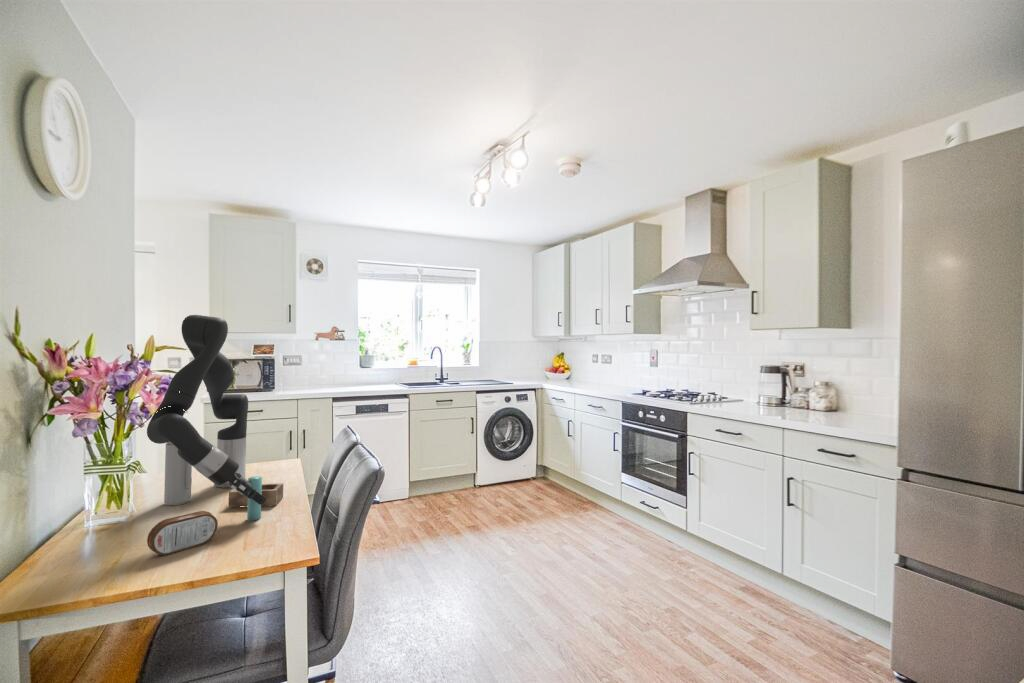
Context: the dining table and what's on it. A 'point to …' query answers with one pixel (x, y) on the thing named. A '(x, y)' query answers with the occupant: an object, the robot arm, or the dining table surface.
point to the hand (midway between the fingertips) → (261, 500)
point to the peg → (253, 506)
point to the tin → (182, 532)
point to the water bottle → (176, 477)
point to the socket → (269, 491)
